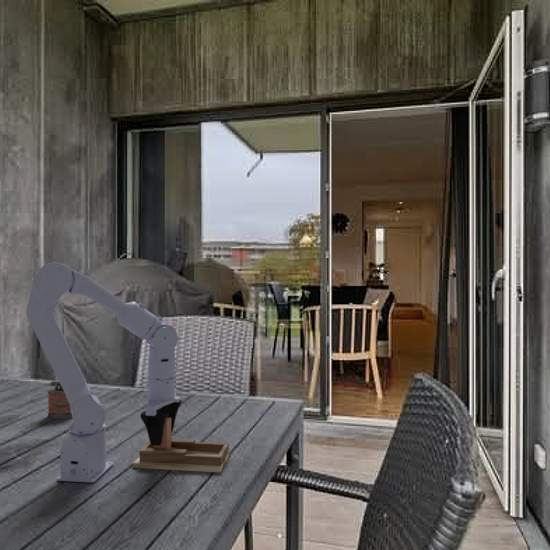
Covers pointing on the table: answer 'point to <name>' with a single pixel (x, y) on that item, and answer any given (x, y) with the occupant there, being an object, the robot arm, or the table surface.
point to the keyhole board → (184, 456)
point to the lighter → (58, 402)
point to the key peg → (166, 436)
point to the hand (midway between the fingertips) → (161, 438)
